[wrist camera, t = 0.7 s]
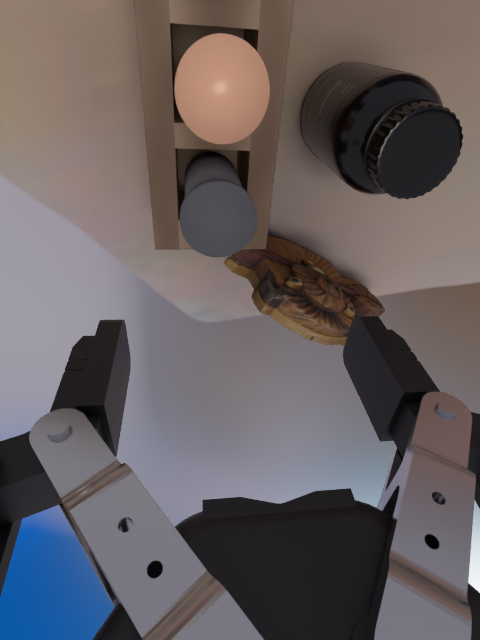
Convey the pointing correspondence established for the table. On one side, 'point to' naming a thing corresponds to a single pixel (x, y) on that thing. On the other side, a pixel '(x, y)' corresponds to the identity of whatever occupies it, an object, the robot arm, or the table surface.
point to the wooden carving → (303, 291)
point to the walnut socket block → (166, 122)
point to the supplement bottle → (381, 130)
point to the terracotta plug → (222, 88)
